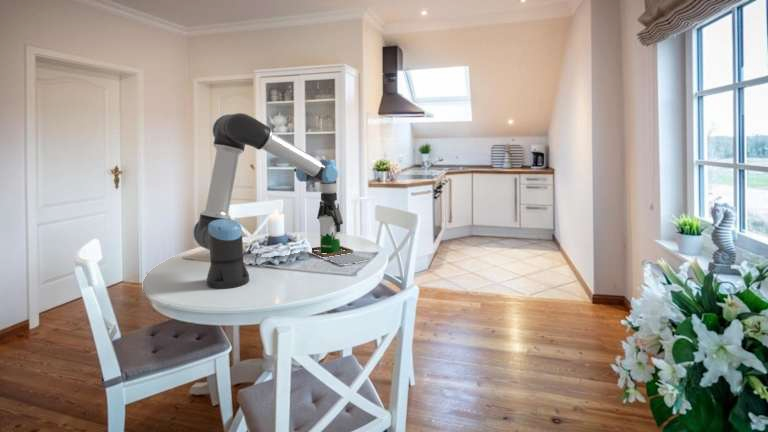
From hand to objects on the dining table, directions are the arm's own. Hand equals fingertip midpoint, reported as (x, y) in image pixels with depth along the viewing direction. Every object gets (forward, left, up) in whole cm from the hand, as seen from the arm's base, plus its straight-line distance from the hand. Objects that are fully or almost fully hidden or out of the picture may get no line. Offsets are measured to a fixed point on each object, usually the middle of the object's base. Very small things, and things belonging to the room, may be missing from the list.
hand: (330, 236), depth 211 cm
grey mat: (-17, +1, -8) cm, 19 cm away
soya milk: (0, 0, -9) cm, 9 cm away
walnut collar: (0, 0, -8) cm, 8 cm away
